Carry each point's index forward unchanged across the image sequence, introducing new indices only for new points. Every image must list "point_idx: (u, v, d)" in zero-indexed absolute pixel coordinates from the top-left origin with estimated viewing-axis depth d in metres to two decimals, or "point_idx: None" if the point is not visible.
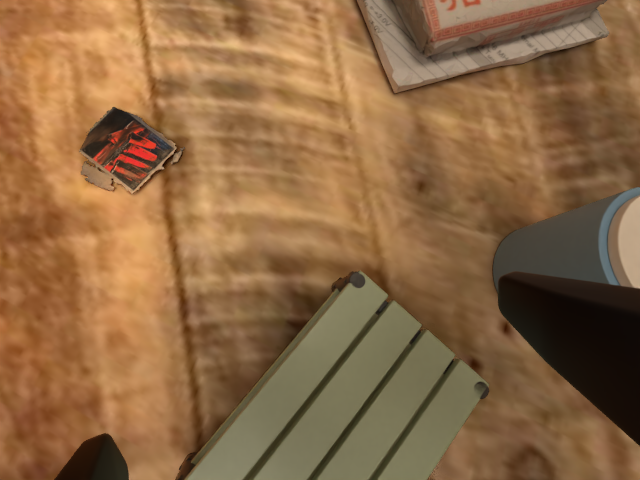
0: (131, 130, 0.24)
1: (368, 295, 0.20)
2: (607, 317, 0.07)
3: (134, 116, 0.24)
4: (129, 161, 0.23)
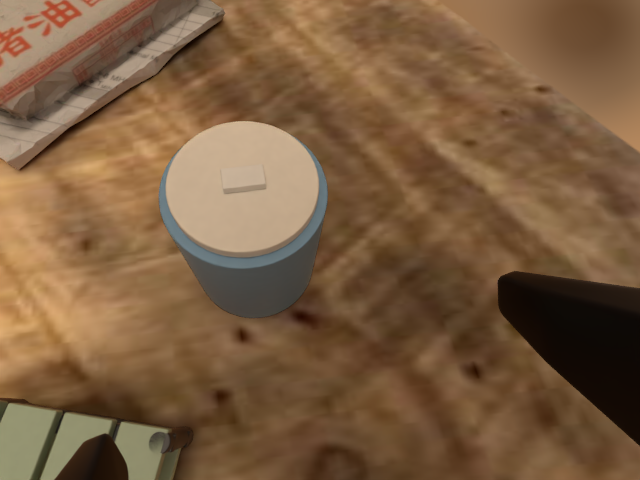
0: None
1: None
2: (607, 317, 0.07)
3: None
4: None
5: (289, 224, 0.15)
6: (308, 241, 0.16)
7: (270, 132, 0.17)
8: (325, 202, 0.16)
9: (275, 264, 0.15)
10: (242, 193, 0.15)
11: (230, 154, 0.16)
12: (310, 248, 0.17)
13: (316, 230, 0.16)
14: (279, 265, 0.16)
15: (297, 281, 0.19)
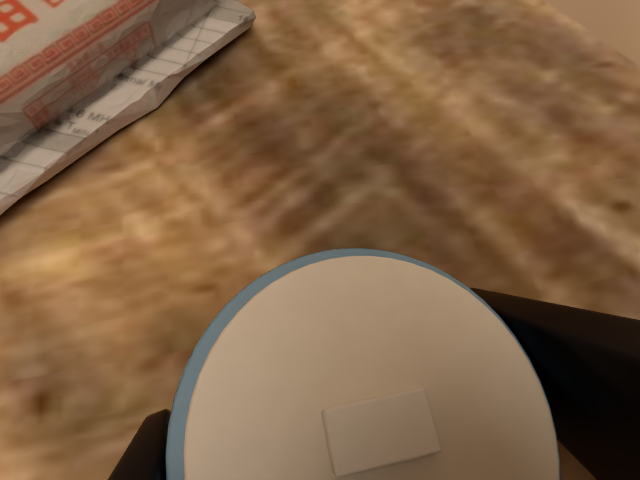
0: None
1: None
2: (554, 341, 0.07)
3: None
4: None
5: None
6: None
7: (418, 283, 0.07)
8: None
9: None
10: (380, 472, 0.06)
11: (336, 349, 0.07)
12: None
13: None
14: None
15: None
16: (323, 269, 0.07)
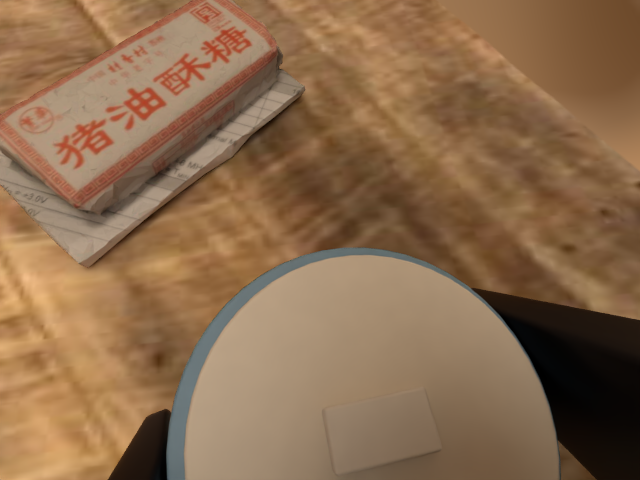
0: None
1: None
2: (554, 341, 0.07)
3: None
4: None
5: None
6: None
7: (418, 283, 0.07)
8: None
9: None
10: (380, 470, 0.06)
11: (336, 348, 0.07)
12: None
13: None
14: None
15: None
16: (324, 268, 0.07)
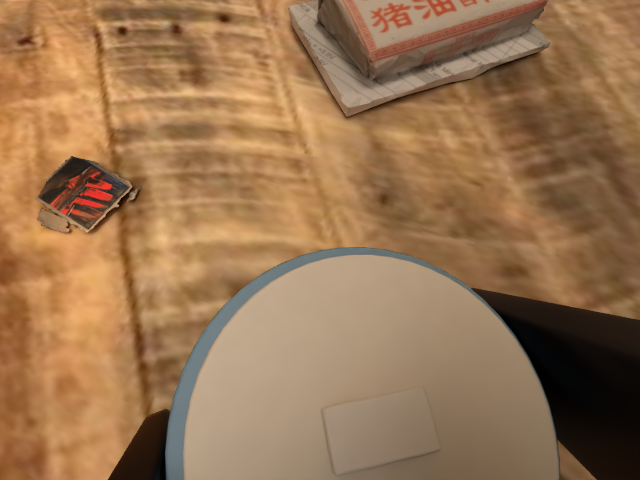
0: (88, 175, 0.24)
1: None
2: (554, 341, 0.07)
3: (91, 162, 0.25)
4: (86, 203, 0.24)
5: None
6: None
7: (417, 282, 0.07)
8: None
9: None
10: (379, 470, 0.06)
11: (336, 347, 0.07)
12: None
13: None
14: None
15: None
16: (323, 268, 0.07)
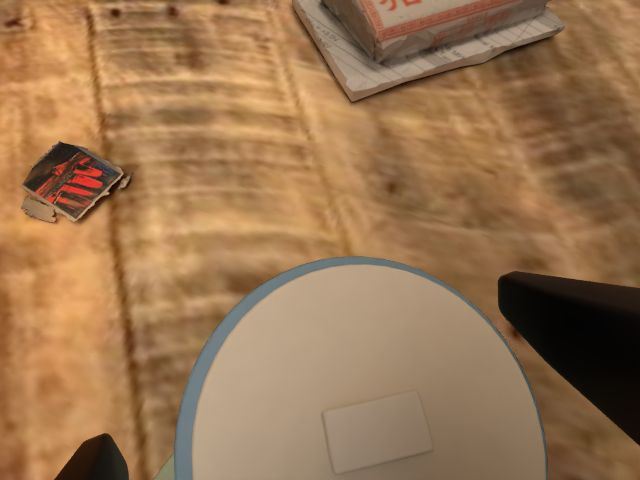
0: (77, 161, 0.23)
1: None
2: (607, 317, 0.07)
3: (80, 148, 0.23)
4: (73, 191, 0.22)
5: None
6: None
7: (412, 290, 0.08)
8: (544, 453, 0.07)
9: None
10: (376, 469, 0.06)
11: (335, 353, 0.07)
12: None
13: None
14: None
15: None
16: (322, 277, 0.08)
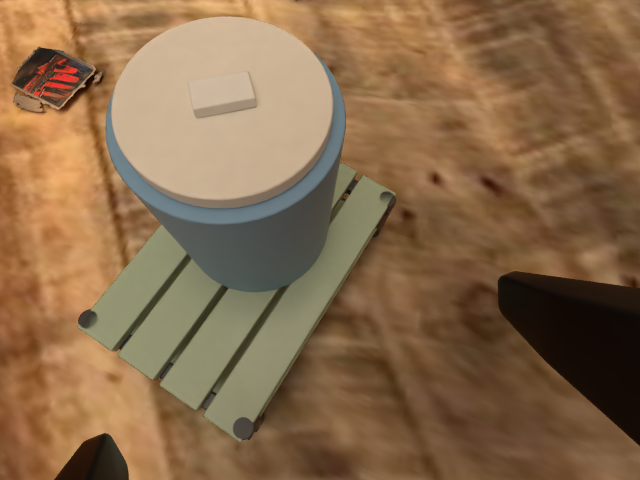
0: (56, 62, 0.27)
1: None
2: (607, 317, 0.07)
3: (57, 51, 0.27)
4: (55, 85, 0.26)
5: (294, 154, 0.10)
6: (323, 179, 0.11)
7: (256, 29, 0.12)
8: (343, 123, 0.11)
9: (278, 215, 0.11)
10: (223, 115, 0.10)
11: (202, 63, 0.11)
12: (326, 192, 0.12)
13: (333, 163, 0.11)
14: (285, 216, 0.11)
15: (311, 241, 0.15)
16: (195, 23, 0.11)
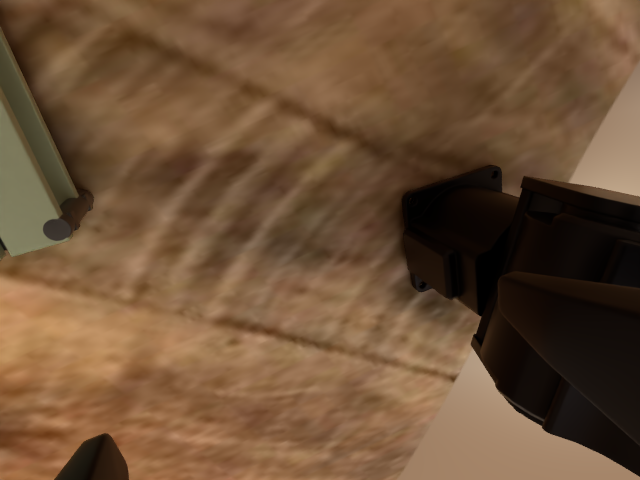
0: None
1: None
2: (607, 317, 0.07)
3: None
4: None
5: None
6: None
7: None
8: None
9: None
10: None
11: None
12: None
13: None
14: None
15: None
16: None
